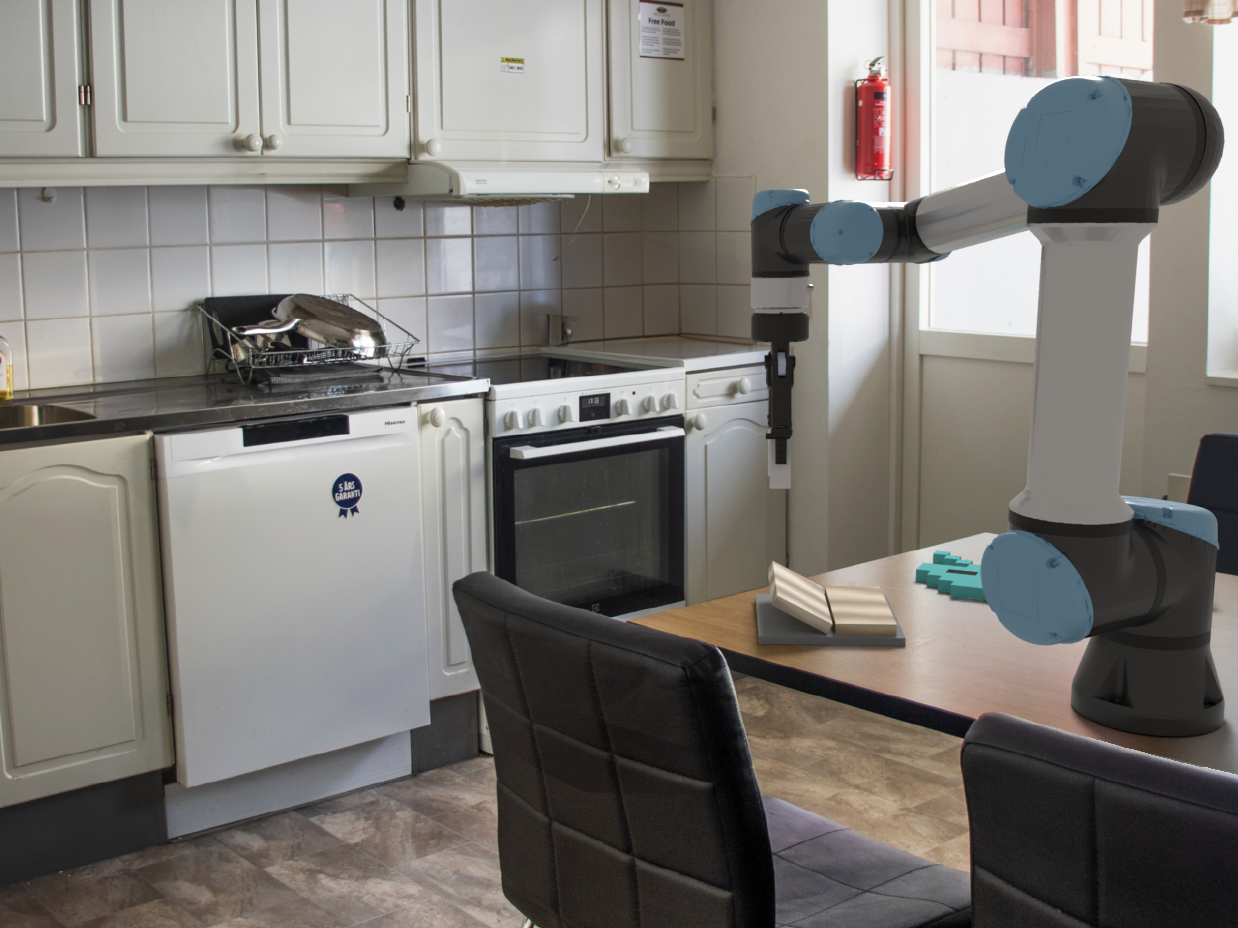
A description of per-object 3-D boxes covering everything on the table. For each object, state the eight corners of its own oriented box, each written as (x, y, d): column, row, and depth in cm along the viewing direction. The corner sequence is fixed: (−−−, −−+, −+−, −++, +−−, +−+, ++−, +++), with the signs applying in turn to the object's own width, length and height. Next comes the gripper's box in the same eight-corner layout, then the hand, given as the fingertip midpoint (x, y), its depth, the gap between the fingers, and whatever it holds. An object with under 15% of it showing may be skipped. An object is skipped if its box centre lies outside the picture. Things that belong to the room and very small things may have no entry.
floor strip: (896, 635, 153) (896, 624, 153) (835, 634, 154) (835, 623, 153) (879, 596, 170) (879, 586, 170) (824, 596, 171) (824, 585, 171)
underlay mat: (905, 645, 152) (905, 638, 152) (758, 643, 154) (758, 636, 153) (885, 601, 172) (885, 594, 171) (755, 600, 173) (755, 593, 173)
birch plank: (826, 634, 154) (832, 624, 153) (771, 605, 154) (777, 595, 153) (817, 595, 171) (822, 586, 171) (767, 569, 171) (772, 560, 171)
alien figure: (936, 563, 194) (904, 594, 177) (936, 550, 194) (904, 579, 176) (1066, 577, 185) (1046, 610, 168) (1066, 563, 185) (1047, 595, 167)
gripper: (814, 314, 145) (812, 497, 149) (804, 307, 166) (802, 468, 170) (752, 315, 146) (751, 497, 150) (749, 308, 167) (749, 468, 171)
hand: (778, 481), depth 160 cm, fingers open, 8 cm apart
